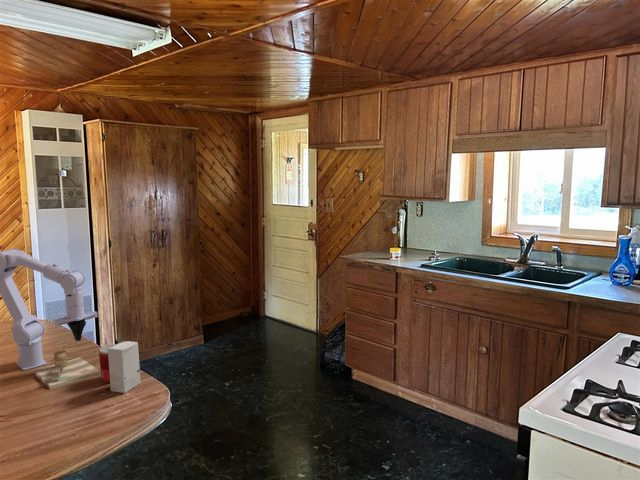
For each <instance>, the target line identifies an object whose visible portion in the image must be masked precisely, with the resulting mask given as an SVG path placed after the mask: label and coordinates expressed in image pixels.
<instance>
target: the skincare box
mask: <svg viewBox="0 0 640 480" xmlns="http://www.w3.org/2000/svg"><path fill="white" fill-rule="evenodd" d="M108 359H109V372H110V383H109V384H110V391H111V392H116V393H119V394H126V393H128V392H129V391H130V390H132V389H134V388H135V387H136V386H139V385H140V384H141V382H142V381H141V367H140V354H139V342H138V341H128V340H127V341H125V340H124V341H121V342H120V343H116V345H115V346H113V347H111V348H108Z"/></svg>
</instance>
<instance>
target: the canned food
mask: <svg viewBox="0 0 640 480" xmlns="http://www.w3.org/2000/svg"><path fill="white" fill-rule="evenodd" d="M116 344H117V343H116ZM116 344H108V345H107V344H106V345H104V346H102V347H101V348H99V349H98V350H99V351H98V357H99V367H100V370H99V371H100V377H101V378H100V379H101V381H102V382H104V383H109V384H110V372H109V359H108V348H111V347H113V346H115V345H116Z"/></svg>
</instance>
